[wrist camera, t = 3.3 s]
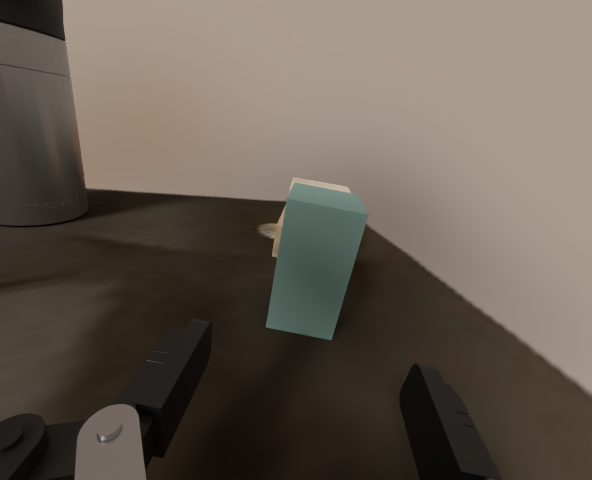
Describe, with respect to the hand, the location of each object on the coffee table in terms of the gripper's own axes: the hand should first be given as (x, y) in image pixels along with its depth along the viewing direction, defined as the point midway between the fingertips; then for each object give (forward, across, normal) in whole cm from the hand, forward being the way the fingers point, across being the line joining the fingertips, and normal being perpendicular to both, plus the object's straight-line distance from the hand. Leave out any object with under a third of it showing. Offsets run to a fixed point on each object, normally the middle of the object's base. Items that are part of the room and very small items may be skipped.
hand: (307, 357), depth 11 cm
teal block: (+10, 0, +6) cm, 12 cm away
